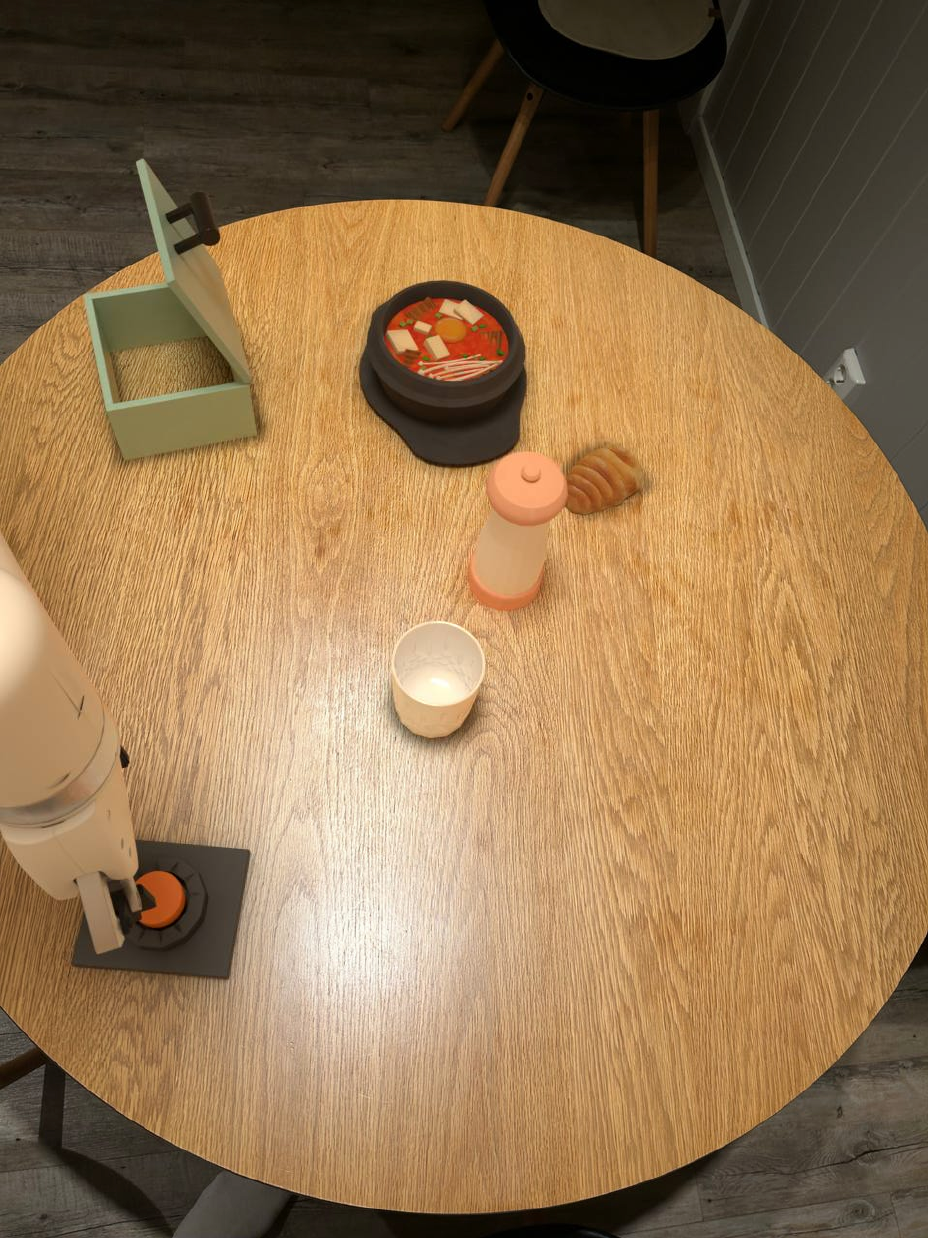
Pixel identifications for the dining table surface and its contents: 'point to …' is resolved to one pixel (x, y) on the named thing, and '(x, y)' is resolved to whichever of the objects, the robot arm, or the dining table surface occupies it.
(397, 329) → the casserole
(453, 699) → the white cup
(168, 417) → the green bottomless box
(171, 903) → the button
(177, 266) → the lid
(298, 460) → the dining table surface
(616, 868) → the dining table surface
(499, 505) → the salt shaker
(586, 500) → the pastry
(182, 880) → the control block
